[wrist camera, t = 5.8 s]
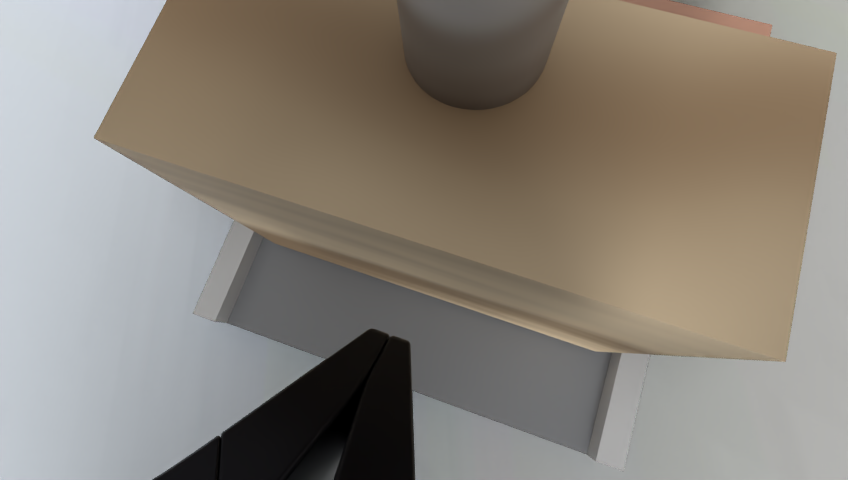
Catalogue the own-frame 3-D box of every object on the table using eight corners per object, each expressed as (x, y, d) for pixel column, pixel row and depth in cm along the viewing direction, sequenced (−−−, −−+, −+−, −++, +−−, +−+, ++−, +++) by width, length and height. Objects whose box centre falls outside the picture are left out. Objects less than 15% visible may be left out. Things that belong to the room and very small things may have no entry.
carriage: (595, 351, 14) (1389, 394, 2) (274, 243, 15) (-302, -94, 3) (632, 205, 15) (1314, -303, 3) (328, 115, 16) (20, -479, 4)
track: (605, 457, 14) (674, 506, 10) (217, 315, 16) (131, 305, 12) (688, 107, 17) (771, 24, 13) (346, 16, 19) (316, -84, 14)
